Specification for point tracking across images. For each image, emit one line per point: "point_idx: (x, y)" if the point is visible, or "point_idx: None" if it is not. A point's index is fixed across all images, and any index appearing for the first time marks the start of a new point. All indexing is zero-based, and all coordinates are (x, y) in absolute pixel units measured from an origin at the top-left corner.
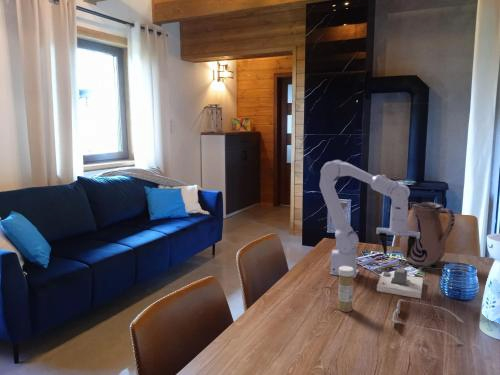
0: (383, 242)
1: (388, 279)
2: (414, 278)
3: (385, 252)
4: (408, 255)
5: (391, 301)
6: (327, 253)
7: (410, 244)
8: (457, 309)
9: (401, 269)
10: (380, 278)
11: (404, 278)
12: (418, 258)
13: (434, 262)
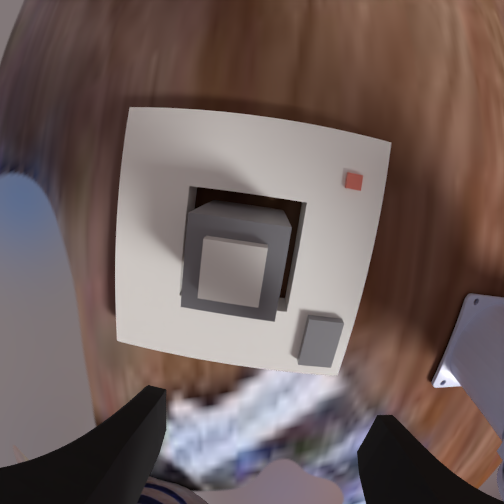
0: (463, 499)
1: (316, 268)
2: (157, 324)
3: (389, 426)
4: (138, 395)
5: (299, 31)
6: (471, 473)
7: (46, 480)
8: (30, 74)
9: (227, 278)
10: (364, 269)
11: (211, 208)
12: (153, 494)
13: None
